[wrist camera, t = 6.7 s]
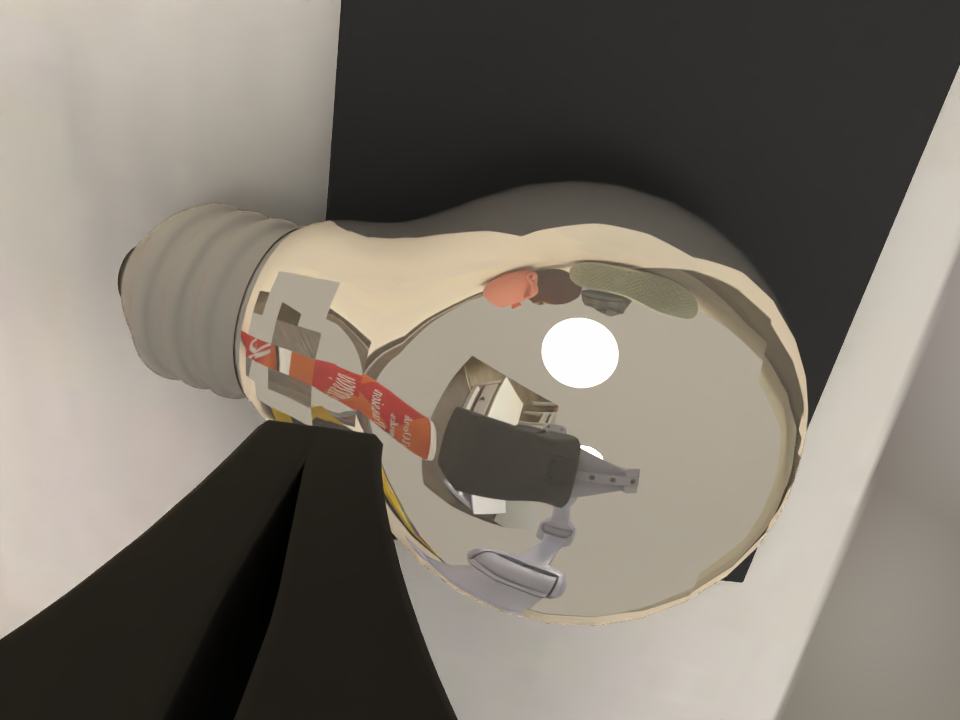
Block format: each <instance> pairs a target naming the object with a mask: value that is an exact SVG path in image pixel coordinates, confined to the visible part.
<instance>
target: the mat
mask: <svg viewBox="0 0 960 720" xmlns="http://www.w3.org/2000/svg"><path fill="white" fill-rule="evenodd" d="M959 65H960V0H341V13H340V27H339V42H338V56H337V70H336V85H335V99H334V114H333V128H332V143H331V157H330V171H329V186H328V200H327V215H326V221H330V220H358V221H367V222H390V223H398V222H404V221H409V220H415V219H419V218H422V217H425V216H428V215H431V214H434V213H437V212H441V211H444V210H447V209H449V208H452V207H455V206H458V205H461V204H463V203H466V202H469V201H472V200H474V199H477V198H480V197H483V196H486V195H490V194H493V193H497V192H501V191H505V190H508V189H512V188H516V187H520V186H523V185H528V184H535V183H547V182H560V181H572V180H585V181H593V182H602V183H610V184H618V185H626V186H629V187H632V188H635V189H638V190H641V191H644V192H647V193H650V194H653V195H656V196H659V197H662V198H665V199H668V200H670V201H672V202H674V203H676V204H677V205H679V206H681V207H683V208H684V209H686V210H688V211H690V212H692V213H693V214H695V215H697V216H699V217H700V218H702V219H704V220H706V221H707V222H709V223H711V224H712V225H713V226H714V227H715V228H716V229H717V230H719V231H720V232H721V233H722V234H723V235H724V236H726V237H727V238H728V239H729V240H730V241H731V242H732V243H734V244H735V245H736V246H737V247H738V248H739V249H741V250H742V251H743V252H744V253H745V254H746V255H747V257H748V258H749V259H750V261H751V262H752V263H753V264H754V266H755V267H756V268H757V270H758V271H759V272H760V274H761V275H762V276H763V277H764V279H765V280H766V281H767V283H768V284H769V285H770V287H771V288H772V289H773V290H774V292H775V294H776V296H777V299H778V301H779V303H780V305H781V307H782V309H783V311H784V313H785V315H786V317H787V319H788V321H789V323H790V325H791V327H792V330H793V332H794V335H795V339H796V342H797V346H798V350H799V354H800V357H801V361H802V365H803V368H804V372H805V376H806V385H807V400H808V420H807V428H808V426H809V423H810V421H811V419H812V416H813V414H814V411H815V409H816V407H817V404H818V402H819V399H820V397H821V395H822V392H823V390H824V388H825V385H826V383H827V380H828V378H829V376H830V373H831V371H832V368H833V366H834V364H835V361H836V359H837V356H838V354H839V352H840V349H841V347H842V345H843V342H844V340H845V337H846V335H847V333H848V330H849V328H850V325H851V323H852V321H853V318H854V316H855V314H856V311H857V309H858V306H859V304H860V302H861V299H862V297H863V294H864V292H865V290H866V287H867V285H868V283H869V280H870V278H871V275H872V273H873V271H874V268H875V266H876V263H877V261H878V259H879V256H880V254H881V251H882V249H883V247H884V244H885V242H886V240H887V237H888V235H889V232H890V230H891V228H892V225H893V223H894V220H895V218H896V216H897V213H898V211H899V209H900V206H901V204H902V201H903V199H904V197H905V194H906V192H907V189H908V187H909V185H910V182H911V180H912V177H913V175H914V173H915V170H916V168H917V166H918V163H919V161H920V158H921V156H922V154H923V151H924V149H925V146H926V144H927V142H928V139H929V137H930V135H931V132H932V130H933V127H934V125H935V123H936V120H937V118H938V115H939V113H940V111H941V108H942V106H943V104H944V101H945V99H946V96H947V94H948V92H949V89H950V87H951V84H952V82H953V80H954V77H955V75H956V72H957V70H958V68H959ZM807 428H806V430H807ZM392 536H393V539H397V538H396V537H395V535H394V534H393V533H392ZM397 540H398V539H397ZM756 550H757V548H756V549H755V550H754V551H753V552H752V553H751V554H750V555H749V556H747V557H746V558H745V559H744V560H743V561H742V562H741V563H740V564H739V565H738V566H737V567H736V568H735V569H734V570H733V571H731V572H730V573H729V574H728V575H727V576H726V577H725V578H723V579H721V580H725V581H733V582H743V581H744V578H745V576H746V574H747V571H748V569H749V566H750V564H751V562H752V559H753V557H754V555H755V552H756Z"/></svg>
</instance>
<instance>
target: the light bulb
mask: <svg viewBox="0 0 960 720" xmlns="http://www.w3.org/2000/svg"><path fill="white" fill-rule="evenodd" d="M118 290H119V294H120V296H121V301H122V307H123V312H124V315H125V318H126V321H127V324H128V326H129V329H130V331H131V334H132V338H133V342H134V345H135V348H136V350H137V352H138V354H139V356H140V358H141V360H142V361H143V362H144V364H145V365H146V366H147V367H148V368H149V369H150V370H152V371H153V372H154V373H156V374H158V375H160V376H162V377H164V378H168V379H172V380H181V381H183V382H184V383H186V384H188V385H190V386H192V387H195V388H199V389H210V390H212V391H213V392H214V393H216V394H218V395H220V396H223V397H226V398H232V399H239V398H245V397H246V398H247V399H248V400H250V402H251V403H252V405H253V406H254V407H255V408H256V410H257V411H258V412H259V413H260V415H262V416H263V417H264V418H265V419H266V420H274V421H281V422H289V423H296V424H304V425H311V426H318V427H326V428H333V429H341V430H348V431H356V432H363V433H371V434H375V435H376V436H377V437H378V438H379V439H380V441H381V442H382V443H383V451H382V480H383V489H384V495H385V502H386V508H387V514H388V519H389V523H390V528H391V532H392V533H393V534H394V535H395V537H396V538H397V539H398V540H399V541H400V542H401V543H402V544H403V545H404V546H405V548H406V549H407V550H408V551H409V552H410V553H411V554H412V555H413V556H414V557H415V558H416V560H417V561H418V562H419V563H420V564H422V565H423V566H424V567H426V568H427V569H428V570H430V571H431V572H432V573H434V574H435V575H436V576H437V577H439V578H440V579H441V580H443V581H444V582H445V583H447V584H448V585H449V586H451V587H452V588H453V589H455V590H456V591H458V592H460V593H462V594H464V595H466V596H469V597H471V598H473V599H475V600H477V601H479V602H481V603H483V604H485V605H487V606H489V607H491V608H493V609H496V610H498V611H501V612H504V613H508V614H512V615H516V616H520V617H524V618H528V619H532V620H536V621H540V622H544V623H547V624H565V625H584V626H597V625H604V624H611V623H617V622H624V621H630V620H637V619H642V618H644V617H647V616H650V615H652V614H655V613H658V612H660V611H663V610H666V609H668V608H671V607H674V606H677V605H679V604H682V603H684V602H686V601H688V600H689V599H691V598H693V597H694V596H696V595H697V594H699V593H701V592H702V591H704V590H705V589H707V588H709V587H710V586H712V585H713V584H715V583H717V582H718V581H720V580H721V579H723V578H725V577H726V576H727V575H728V574H729V573H730V572H731V571H733V570H734V569H735V568H736V567H737V566H738V565H739V564H740V563H741V562H742V561H743V560H744V559H745V558H746V557H747V556H749V555H750V554H751V553H752V552H753V551H754V550H755V549H756V548H757V547H758V545H759V544H760V543H761V541H762V540H763V538H764V537H765V536H766V534H767V533H768V531H769V530H770V529H771V527H772V526H773V525H774V523H775V521H776V520H777V518H778V516H779V515H780V513H781V511H782V509H783V507H784V505H785V503H786V501H787V499H788V496H789V493H790V490H791V487H792V484H793V482H794V479H795V476H796V473H797V470H798V467H799V463H800V459H801V454H802V449H803V445H804V441H805V436H806V428H807V420H808V400H807V385H806V376H805V372H804V368H803V365H802V361H801V357H800V354H799V350H798V346H797V342H796V339H795V335H794V332H793V330H792V327H791V325H790V323H789V321H788V319H787V317H786V315H785V313H784V311H783V309H782V307H781V305H780V303H779V301H778V299H777V296H776V294H775V292H774V290H773V289H772V288H771V287H770V285H769V284H768V283H767V281H766V280H765V279H764V277H763V276H762V275H761V274H760V272H759V271H758V270H757V268H756V267H755V266H754V264H753V263H752V262H751V261H750V259H749V258H748V257H747V255H746V254H745V253H744V252H743V251H742V250H741V249H739V248H738V247H737V246H736V245H735V244H734V243H732V242H731V241H730V240H729V239H728V238H727V237H726V236H724V235H723V234H722V233H721V232H720V231H719V230H717V229H716V228H715V227H714V226H713V225H712V224H711V223H709V222H707V221H706V220H704V219H702V218H700V217H699V216H697V215H695V214H693V213H692V212H690V211H688V210H686V209H684V208H683V207H681V206H679V205H677V204H676V203H674V202H672V201H670V200H668V199H665V198H662V197H659V196H656V195H653V194H650V193H647V192H644V191H641V190H638V189H635V188H632V187H629V186H626V185H618V184H610V183H602V182H593V181H585V180H572V181H560V182H547V183H535V184H528V185H523V186H520V187H516V188H512V189H508V190H505V191H501V192H497V193H493V194H490V195H486V196H483V197H480V198H477V199H474V200H472V201H469V202H466V203H463V204H461V205H458V206H455V207H452V208H449V209H447V210H444V211H441V212H437V213H434V214H431V215H428V216H425V217H422V218H419V219H415V220H409V221H404V222H398V223H390V222H367V221H358V220H330V221H324V222H318V223H313V224H310V225H307V226H304V227H300V226H299V225H297V224H295V223H294V222H291V221H288V220H285V219H278V218H272V219H270V218H269V217H267V216H265V215H263V214H260V213H257V212H253V211H241V210H239V209H237V208H235V207H233V206H230V205H227V204H220V203H211V204H204V205H200V206H196V207H194V208H189V209H186V210H183V211H181V212H178V213H176V214H175V215H173V216H172V217H170V218H169V219H167V220H166V221H164V222H163V223H161V224H160V225H159V226H157V227H156V228H155V229H153V230H152V231H151V232H149V233H148V234H147V235H146V236H145V237H144V238H143V239H142V240H141V241H140V242H139V244H138V245H137V246H135V247H134V248H133V249H132V250H130V252H129V253H128V254H127V255H126V257H125V258H124V260H123V262H122V264H121V267H120V270H119V275H118Z"/></svg>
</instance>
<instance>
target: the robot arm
mask: <svg viewBox="0 0 960 720" xmlns="http://www.w3.org/2000/svg"><path fill="white" fill-rule="evenodd" d="M382 451H383V443H382V442H381V441H380V439H379V438H378V437H377V436H376V435H375V434H371V433H363V432H356V431H348V430H341V429H333V428H326V427H318V426H311V425H304V424H296V423H289V422H281V421H274V420H267V421H266V422H264V423H263V424H261V425H260V426H258V427H257V428H256V429H255V430H254V431H253V432H252V433H251V434H250V435H249V436H248V437H247V438H246V439H245V440H244V441H243V442H242V443H241V444H240V445H239V446H238V447H237V448H236V449H235V450H234V451H233V452H232V453H231V454H230V455H229V456H228V457H227V458H226V459H225V460H224V461H223V462H222V463H221V464H220V465H219V466H218V467H217V468H216V469H215V470H214V471H213V472H212V473H211V474H209V475H208V476H207V477H206V478H205V479H204V480H203V481H202V482H201V483H200V484H199V485H198V486H197V487H196V488H195V489H193V490H192V491H191V492H190V493H189V494H188V495H187V496H185V497H184V498H183V499H182V500H181V501H180V502H179V503H177V504H176V505H175V506H174V507H173V508H172V509H171V510H170V511H168V512H167V513H166V514H165V515H164V516H163V517H162V518H160V519H159V520H158V521H157V522H156V523H155V524H154V525H153V526H151V527H150V528H149V529H148V530H147V531H145V532H144V533H143V534H142V535H141V536H139V537H138V538H137V539H136V540H134V541H133V542H132V543H131V544H129V545H128V546H127V547H126V548H124V549H123V550H122V551H121V552H119V553H118V554H117V555H115V556H114V557H113V558H112V559H110V560H109V561H108V562H107V563H105V564H104V565H103V566H102V567H100V568H99V569H98V570H96V571H95V572H94V573H93V574H91V575H90V576H89V577H88V578H86V579H85V580H84V581H83V582H81V583H80V584H79V585H77V586H76V587H75V588H73V589H72V590H71V591H69V592H68V593H66V594H65V595H64V596H62V597H61V598H60V599H58V600H57V601H55V602H54V603H53V604H51V605H50V606H49V607H47V608H46V609H44V610H43V611H41V612H40V613H39V614H37V615H36V616H34V617H33V618H31V619H30V620H29V621H27V622H26V623H24V624H23V625H21V626H20V627H18V628H17V629H15V630H14V631H12V632H11V633H9V634H8V635H6V636H5V637H3V638H2V639H0V720H458V719H457V717H456V715H455V713H454V711H453V708H452V706H451V704H450V701H449V699H448V697H447V694H446V692H445V690H444V688H443V685H442V683H441V681H440V678H439V676H438V674H437V671H436V669H435V666H434V664H433V661H432V659H431V656H430V654H429V651H428V649H427V646H426V643H425V641H424V638H423V635H422V633H421V630H420V627H419V624H418V621H417V618H416V615H415V612H414V609H413V606H412V603H411V600H410V598H409V595H408V591H407V588H406V585H405V581H404V578H403V575H402V571H401V568H400V564H399V560H398V556H397V552H396V548H395V544H394V540H393V536H392V532H391V528H390V523H389V519H388V514H387V508H386V502H385V495H384V489H383V480H382Z"/></svg>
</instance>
